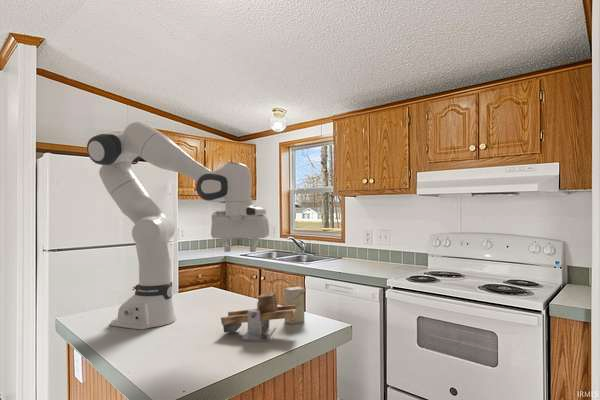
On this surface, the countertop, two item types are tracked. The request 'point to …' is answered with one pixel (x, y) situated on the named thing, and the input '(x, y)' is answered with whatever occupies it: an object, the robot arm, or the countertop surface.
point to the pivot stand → (257, 327)
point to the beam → (238, 317)
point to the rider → (268, 302)
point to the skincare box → (295, 303)
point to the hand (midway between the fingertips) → (240, 251)
